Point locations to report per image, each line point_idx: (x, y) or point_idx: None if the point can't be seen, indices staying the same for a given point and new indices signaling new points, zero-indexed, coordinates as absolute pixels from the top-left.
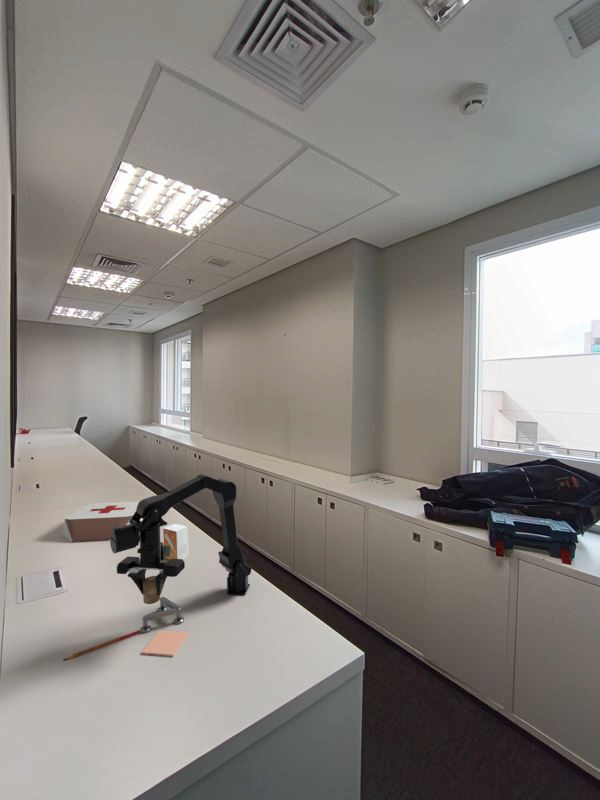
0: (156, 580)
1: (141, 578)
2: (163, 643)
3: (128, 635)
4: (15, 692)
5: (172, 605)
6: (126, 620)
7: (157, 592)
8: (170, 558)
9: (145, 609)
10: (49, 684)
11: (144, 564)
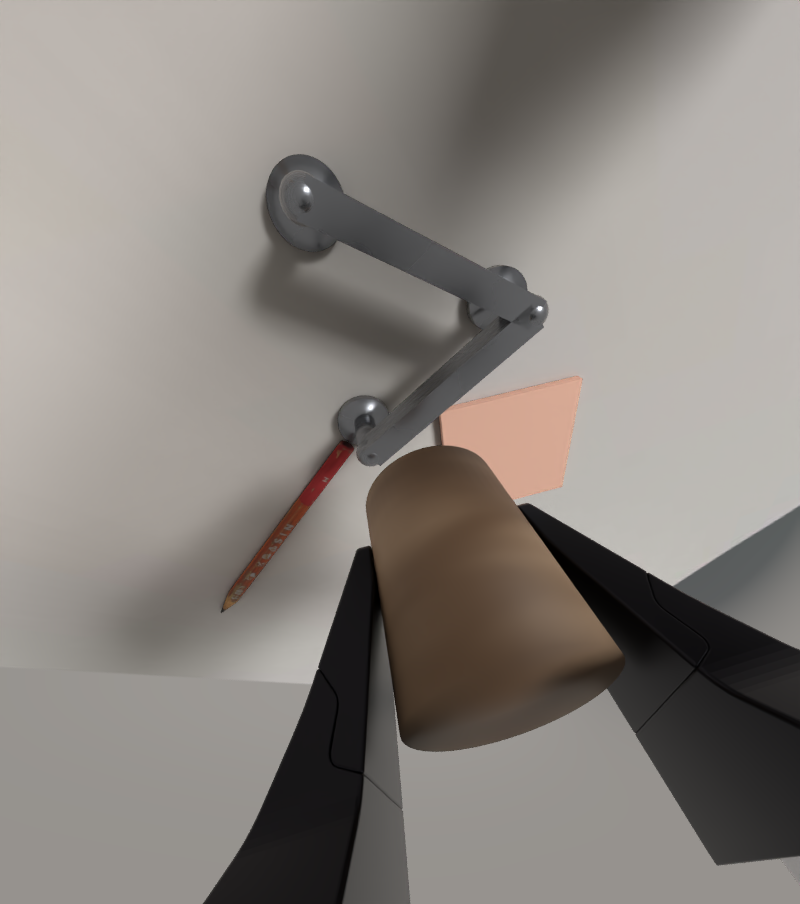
0: (672, 776)
1: (390, 795)
2: (504, 463)
3: (328, 482)
4: (239, 672)
5: (479, 298)
6: (181, 394)
7: None
8: None
9: (167, 242)
10: (289, 641)
11: None
